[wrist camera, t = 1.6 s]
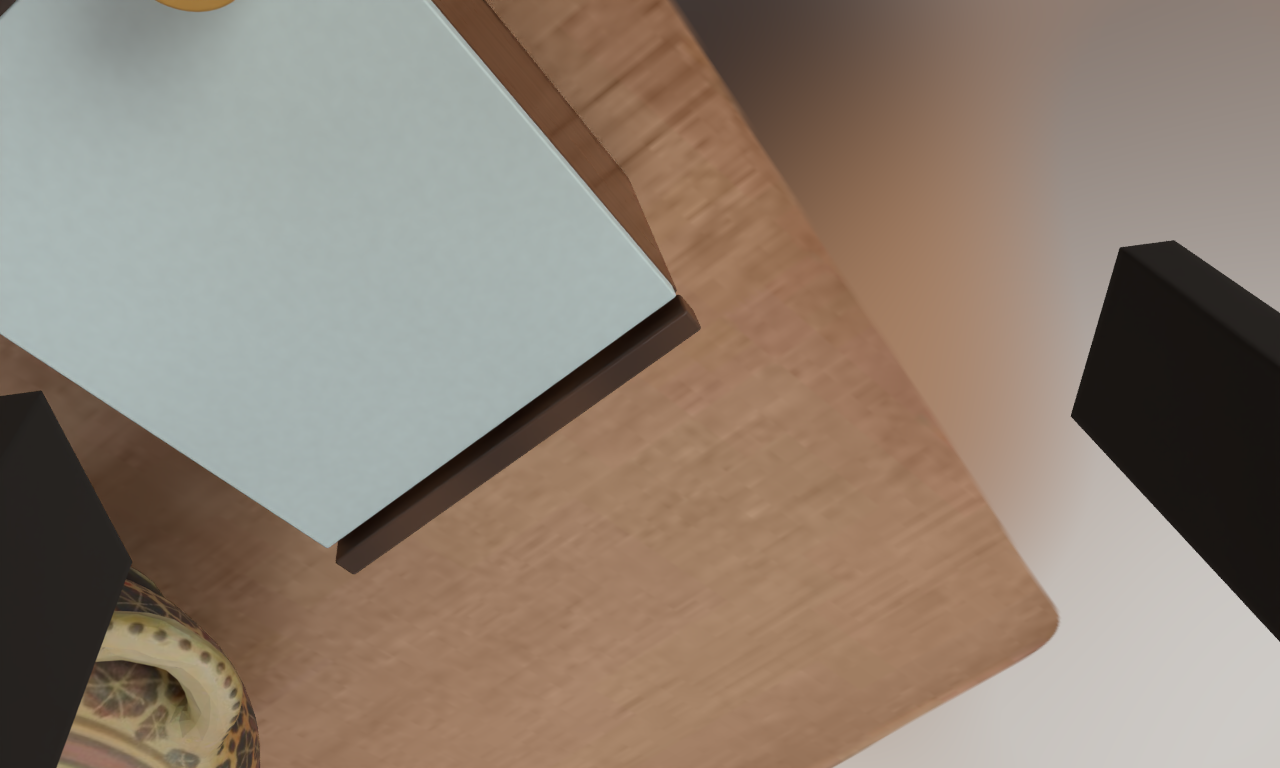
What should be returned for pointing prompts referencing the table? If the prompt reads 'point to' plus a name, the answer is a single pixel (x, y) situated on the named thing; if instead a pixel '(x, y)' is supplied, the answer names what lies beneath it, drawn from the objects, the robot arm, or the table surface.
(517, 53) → the wooden box
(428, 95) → the pale blue square panel
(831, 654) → the table surface
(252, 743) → the ceramic bowl
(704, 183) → the table surface
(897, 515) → the table surface
